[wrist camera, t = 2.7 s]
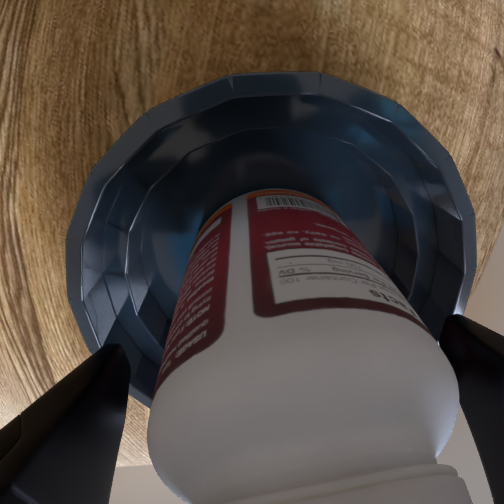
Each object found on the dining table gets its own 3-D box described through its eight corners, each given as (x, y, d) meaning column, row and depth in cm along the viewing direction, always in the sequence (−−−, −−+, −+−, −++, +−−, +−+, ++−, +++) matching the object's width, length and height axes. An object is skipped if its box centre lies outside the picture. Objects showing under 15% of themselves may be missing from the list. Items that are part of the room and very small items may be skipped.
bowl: (431, 93, 10) (498, 97, 6) (395, 358, 16) (422, 413, 12) (85, 109, 10) (23, 116, 6) (149, 378, 16) (134, 438, 12)
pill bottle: (239, 345, 14) (243, 601, 4) (161, 232, 12) (24, 550, 2) (369, 289, 13) (491, 534, 3) (315, 154, 11) (605, 435, 1)
